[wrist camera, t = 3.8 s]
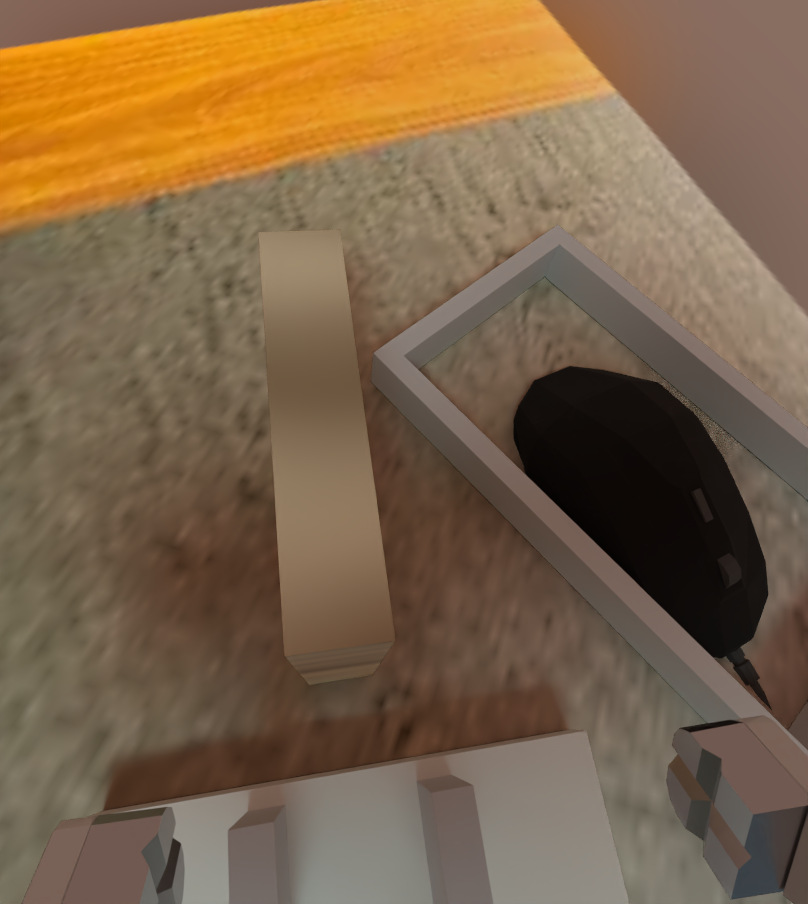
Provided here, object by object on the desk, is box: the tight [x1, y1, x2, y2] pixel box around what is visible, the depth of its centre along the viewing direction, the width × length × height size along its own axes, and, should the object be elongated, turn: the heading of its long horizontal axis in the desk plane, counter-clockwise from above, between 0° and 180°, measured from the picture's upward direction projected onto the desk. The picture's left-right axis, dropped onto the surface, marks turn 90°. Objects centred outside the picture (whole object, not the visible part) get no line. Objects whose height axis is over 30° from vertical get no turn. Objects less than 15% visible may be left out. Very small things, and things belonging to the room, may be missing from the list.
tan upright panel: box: [259, 229, 396, 685], centre depth 17 cm, size 11×2×9 cm, turn 9°
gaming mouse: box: [514, 366, 772, 710], centre depth 20 cm, size 6×15×4 cm, turn 27°
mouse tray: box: [371, 225, 808, 756], centre depth 22 cm, size 20×11×2 cm, turn 43°
